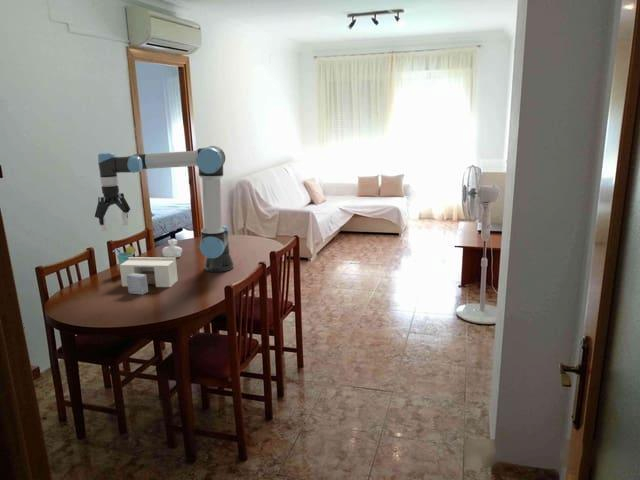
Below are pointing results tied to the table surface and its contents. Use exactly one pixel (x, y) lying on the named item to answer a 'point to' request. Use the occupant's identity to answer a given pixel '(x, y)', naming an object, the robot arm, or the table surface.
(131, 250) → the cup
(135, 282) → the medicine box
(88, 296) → the table surface
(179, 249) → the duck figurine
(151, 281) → the console
